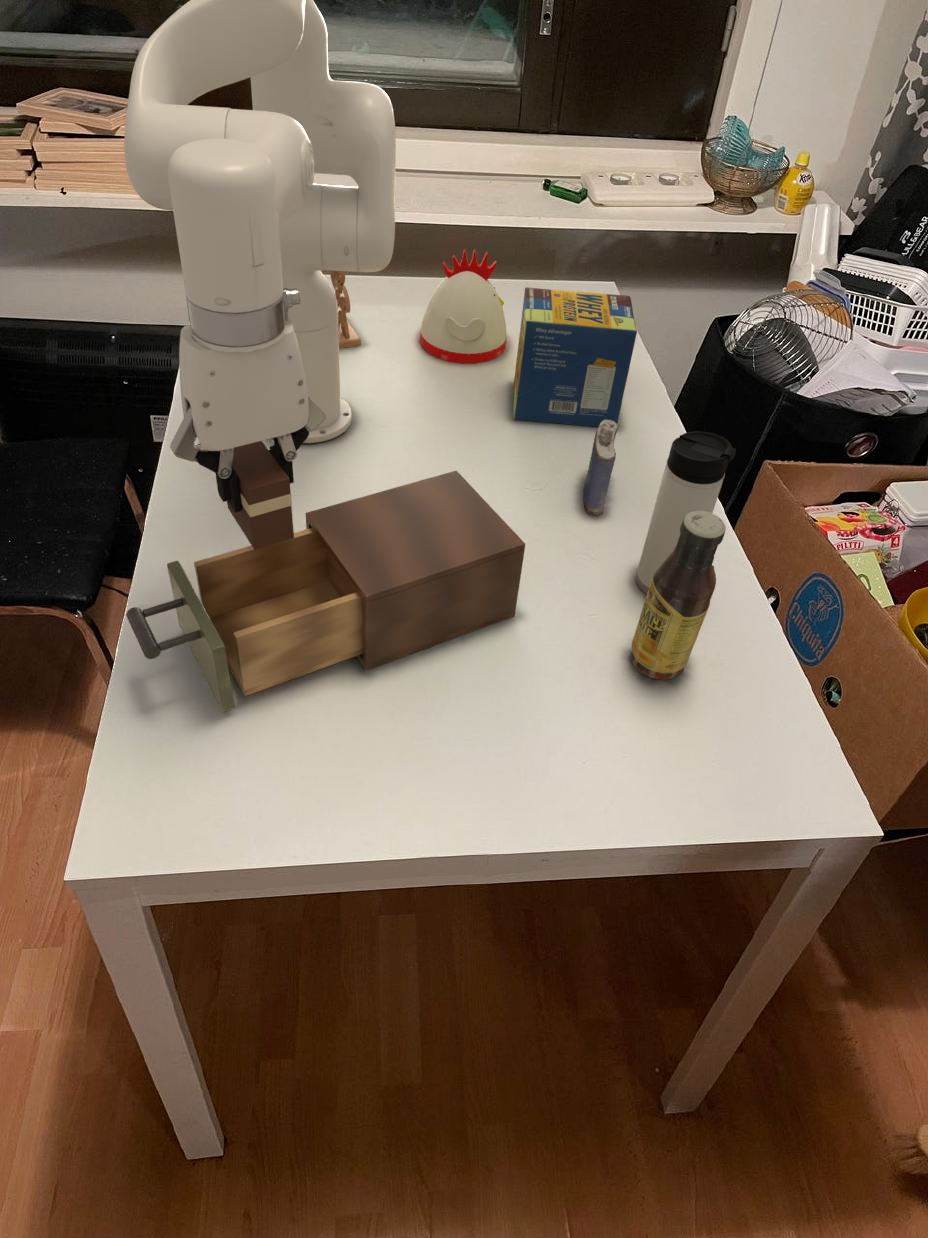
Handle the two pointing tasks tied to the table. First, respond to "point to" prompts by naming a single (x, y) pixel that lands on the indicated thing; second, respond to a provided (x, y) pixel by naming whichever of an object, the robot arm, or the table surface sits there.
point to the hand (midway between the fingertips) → (257, 495)
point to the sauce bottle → (678, 599)
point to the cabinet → (423, 563)
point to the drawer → (261, 615)
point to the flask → (600, 467)
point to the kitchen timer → (465, 315)
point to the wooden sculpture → (343, 311)
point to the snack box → (262, 496)
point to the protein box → (573, 356)
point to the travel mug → (683, 494)
